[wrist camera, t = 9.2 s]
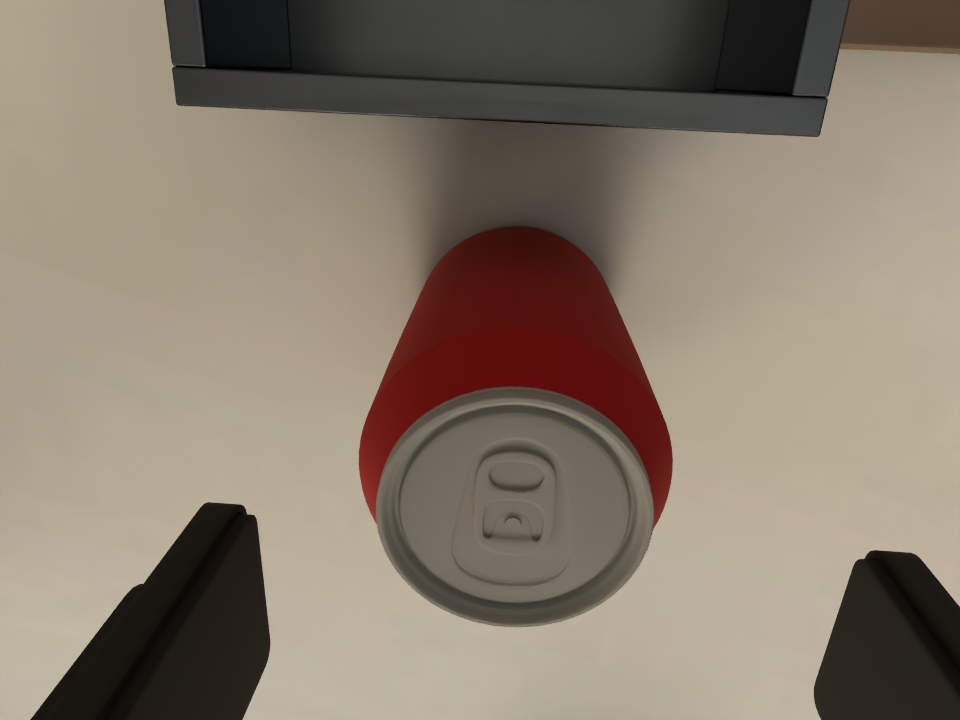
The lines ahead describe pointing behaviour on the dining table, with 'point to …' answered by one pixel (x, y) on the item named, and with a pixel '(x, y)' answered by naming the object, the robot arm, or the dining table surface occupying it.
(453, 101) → the basin
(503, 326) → the beverage can
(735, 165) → the dining table surface
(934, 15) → the panel
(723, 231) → the dining table surface
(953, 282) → the dining table surface
